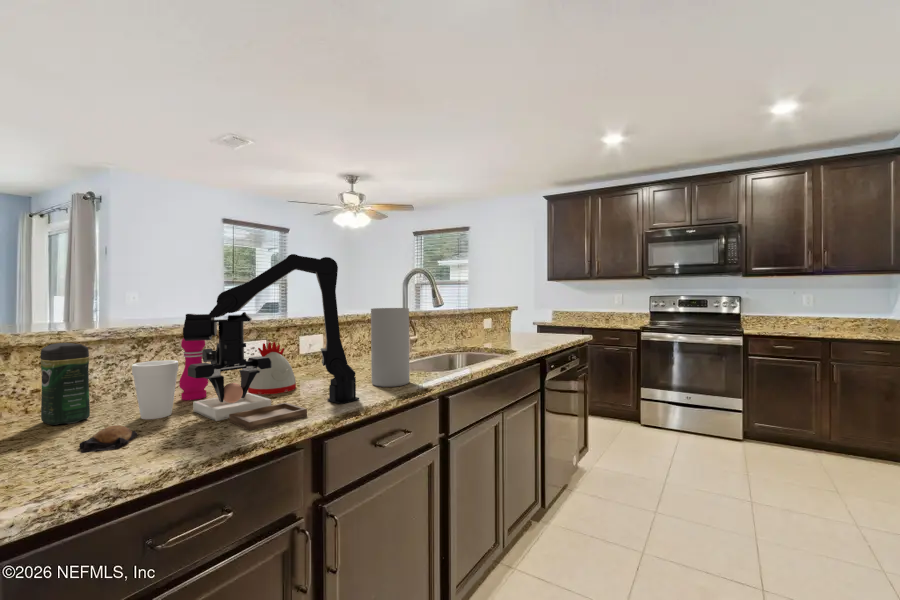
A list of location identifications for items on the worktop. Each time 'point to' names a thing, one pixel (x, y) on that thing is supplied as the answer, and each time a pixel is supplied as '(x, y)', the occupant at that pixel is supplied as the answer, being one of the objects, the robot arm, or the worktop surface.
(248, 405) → the dish
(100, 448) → the turtle figurine
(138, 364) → the foam cup
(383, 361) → the cylinder vase
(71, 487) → the worktop surface
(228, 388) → the ball
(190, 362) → the pepper mill
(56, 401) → the coffee jar
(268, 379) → the grey and red dome
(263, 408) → the tray
